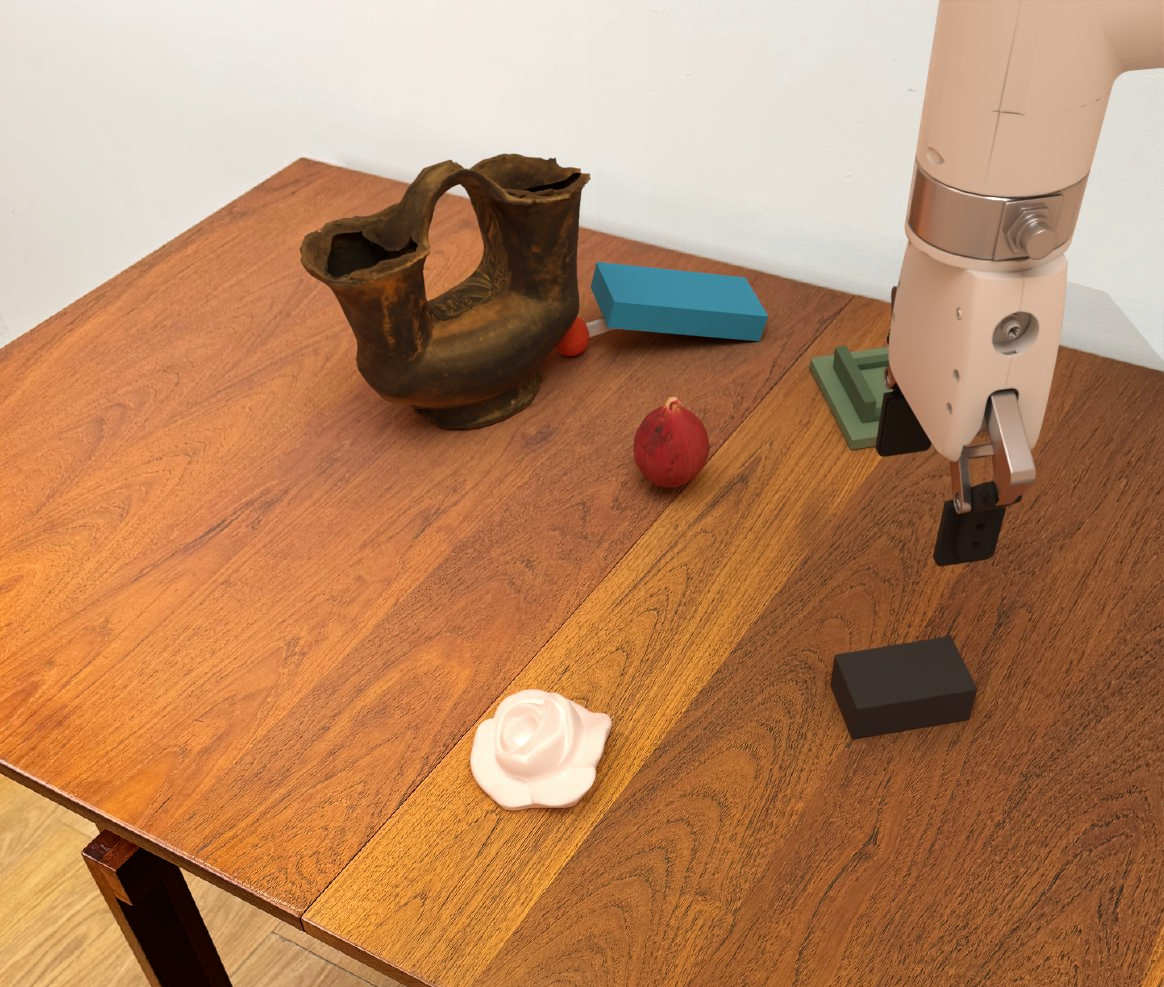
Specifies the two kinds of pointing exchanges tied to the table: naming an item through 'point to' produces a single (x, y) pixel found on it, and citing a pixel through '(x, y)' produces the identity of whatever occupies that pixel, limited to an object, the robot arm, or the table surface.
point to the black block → (902, 687)
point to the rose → (538, 751)
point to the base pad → (854, 391)
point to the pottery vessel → (460, 289)
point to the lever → (668, 305)
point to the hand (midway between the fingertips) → (931, 503)
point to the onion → (671, 445)
